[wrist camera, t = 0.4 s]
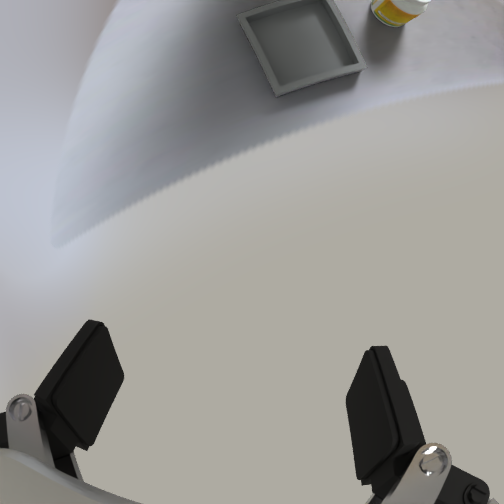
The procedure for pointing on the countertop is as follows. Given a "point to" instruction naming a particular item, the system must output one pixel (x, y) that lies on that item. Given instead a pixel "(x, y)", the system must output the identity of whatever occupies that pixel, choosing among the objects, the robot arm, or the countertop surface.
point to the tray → (301, 43)
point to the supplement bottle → (397, 10)
